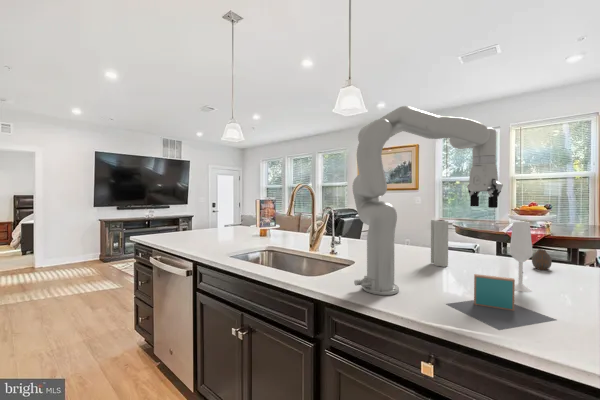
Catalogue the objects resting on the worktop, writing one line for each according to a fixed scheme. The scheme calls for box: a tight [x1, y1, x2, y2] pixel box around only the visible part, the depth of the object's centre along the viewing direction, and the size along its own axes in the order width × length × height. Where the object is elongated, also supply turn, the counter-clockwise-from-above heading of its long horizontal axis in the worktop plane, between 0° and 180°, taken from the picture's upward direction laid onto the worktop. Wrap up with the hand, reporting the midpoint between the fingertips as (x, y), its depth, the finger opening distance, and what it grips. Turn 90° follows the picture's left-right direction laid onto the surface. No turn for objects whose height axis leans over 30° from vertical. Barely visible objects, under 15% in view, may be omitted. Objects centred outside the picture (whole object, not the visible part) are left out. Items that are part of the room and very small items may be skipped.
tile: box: [473, 273, 516, 311], centre depth 89 cm, size 10×2×9 cm, turn 61°
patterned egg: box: [531, 248, 552, 271], centre depth 134 cm, size 7×7×9 cm
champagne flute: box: [508, 220, 534, 293], centre depth 106 cm, size 7×7×24 cm
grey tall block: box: [430, 219, 449, 267], centre depth 141 cm, size 7×6×21 cm
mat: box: [445, 299, 557, 331], centre depth 86 cm, size 20×18×1 cm
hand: (483, 206), depth 113 cm, fingers open, 9 cm apart
